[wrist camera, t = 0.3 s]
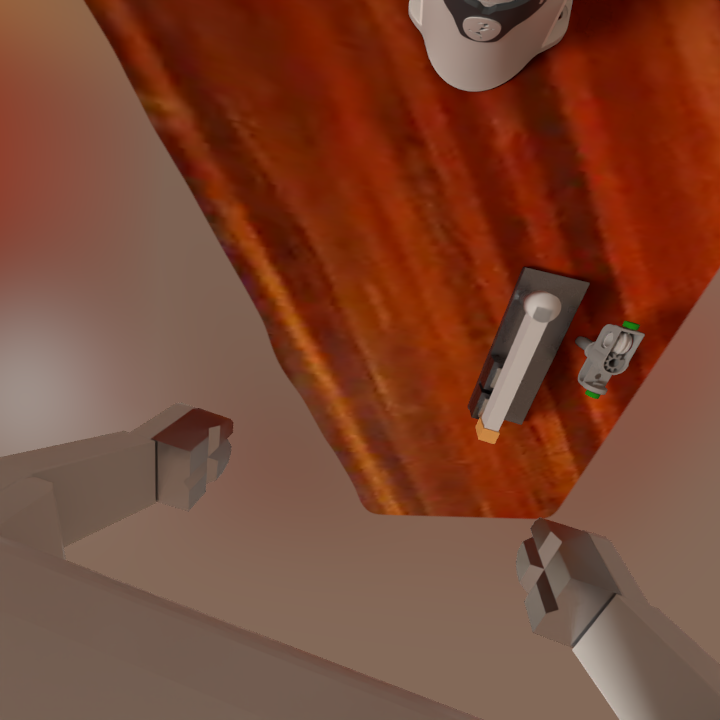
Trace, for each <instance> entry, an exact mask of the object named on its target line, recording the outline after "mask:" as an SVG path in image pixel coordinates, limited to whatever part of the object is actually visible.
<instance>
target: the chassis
mask: <svg viewBox="0 0 720 720" xmlns="http://www.w3.org/2000/svg"><path fill="white" fill-rule="evenodd" d="M589 284H590V283H588V282H584V281H580V280H576V279H572V278H568V277H564V276H559V275H555V274H551V273H547V272H543V271H539V270H535V269H531V268H526V267H523V269H522V271H521V274H520V276H519V279H518V281H517V284H516V286H515V289H514V291H513V294H512V296H511V299H510V301H509V304H508V306H507V309H506V311H505V314H504V316H503V319H502V321H501V324H500V326H499V329H498V331H497V334H496V336H495V339H494V341H493V344H492V346H491V349H490V351H489V354H488V356H487V359H486V361H485V364H484V366H483V369H482V371H481V374H480V376H479V379H478V381H477V384H476V386H475V389H474V391H473V394H472V396H471V399H470V401H469V404H468V409H469V406H470V404H471V401H472V399H473V396H474V394H475V391H476V389H477V386H478V384H481V381H480V379H481V377H482V374H483V372H484V369H485V367H486V364H487V362H488V359H489V357H490V354H491V355H495V356H498V357H502V358H506V359H507V356H508V354H509V352H510V349H511V347H512V345H513V342H514V340H515V338H516V335H517V333H518V330H519V328H520V326H521V323H522V321H523V319H524V316H525V314H526V312H525V311H524V307H523V305H524V301H525V299H526V297H527V296H528V295H529V294H531V293H532V292H535V291H546V292H548V293H550V294H552V295H554V296H556V297H557V298H558V299H559V300H560V302H561V311H560V313H559V315H558V316H557V317H556V318H555V319H554V320H552V321H550V322H548V324H547V326H546V328H545V330H544V332H543V335H542V337H541V339H540V341H539V343H538V346H537V348H536V350H535V352H534V354H533V357H532V359H531V361H530V363H529V365H528V367H527V370H526V372H525V374H524V376H523V378H522V381H521V383H520V385H519V387H518V389H517V392H516V394H515V396H514V398H513V400H512V403H511V405H510V407H509V409H508V411H507V414H506V416H505V418H504V420H507V421H511V422H514V423H518V424H521V425H522V423H523V421H524V418H525V416H526V414H527V412H528V410H529V408H530V406H531V404H532V402H533V400H534V398H535V396H536V394H537V392H538V390H539V387H540V385H541V383H542V381H543V379H544V377H545V375H546V373H547V371H548V369H549V367H550V365H551V363H552V361H553V359H554V356H555V354H556V352H557V350H558V348H559V346H560V344H561V342H562V340H563V338H564V336H565V334H566V332H567V330H568V328H569V326H570V323H571V321H572V319H573V317H574V315H575V313H576V311H577V309H578V307H579V305H580V303H581V301H582V299H583V297H584V295H585V292H586V290H587V288H588V286H589ZM469 410H470V409H469Z"/></svg>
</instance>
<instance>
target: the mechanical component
mask: <svg viewBox="0 0 720 720" xmlns="http://www.w3.org/2000/svg"><path fill="white" fill-rule="evenodd" d="M622 326H624V327H621V326H617V325H611V324H608V325H606V326H605V327H604V328H603V329H602V331H601V333H600V334H599V336H598V338H597V340H596V342H592V341H591V340H589V339H588V338H586V337H585V338H584V337H581V336H580V337H578V338H577V339H576V340H575V343H576V344H577V345H578V346H579V347H581V348H582V349H583V350H585V355H586V356H587V359H586V361H585V363H584V365H583V367H582V369H581V370H580V372H579V375H578V381H579V383H580V384H581V385H582V386H583V387H584V388H586V389H587V391H586V392H585V394H586V395H588V396H590V397H592V398H595V399H598V398H599V397H600V395H601V394H602V395H605V394H606V392H607V389H606V388H605V386H606V384H607V382H608V380H609V379H610V377H611V375H617V374H620V373H622V372H623V371H625V370H626V369H627V367H628V365H629V361H630V359H631V358H632V356H633V354H634V353H635V351H636V349H637V347H638V346H639V344H640V342H641V341H642V339H643V337H644V335H645V334H643V333H641V332H639V331H636V330H638V328H639V326H640V325H639V324H636V323H632V322H629V321H625V322H624V323H623V325H622ZM632 338H633V346H632V348H631V349H630V350H629V351H628V349H629V348H630V346H631V344H632ZM627 351H628V352H627ZM625 352H627V353H625Z"/></svg>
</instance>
